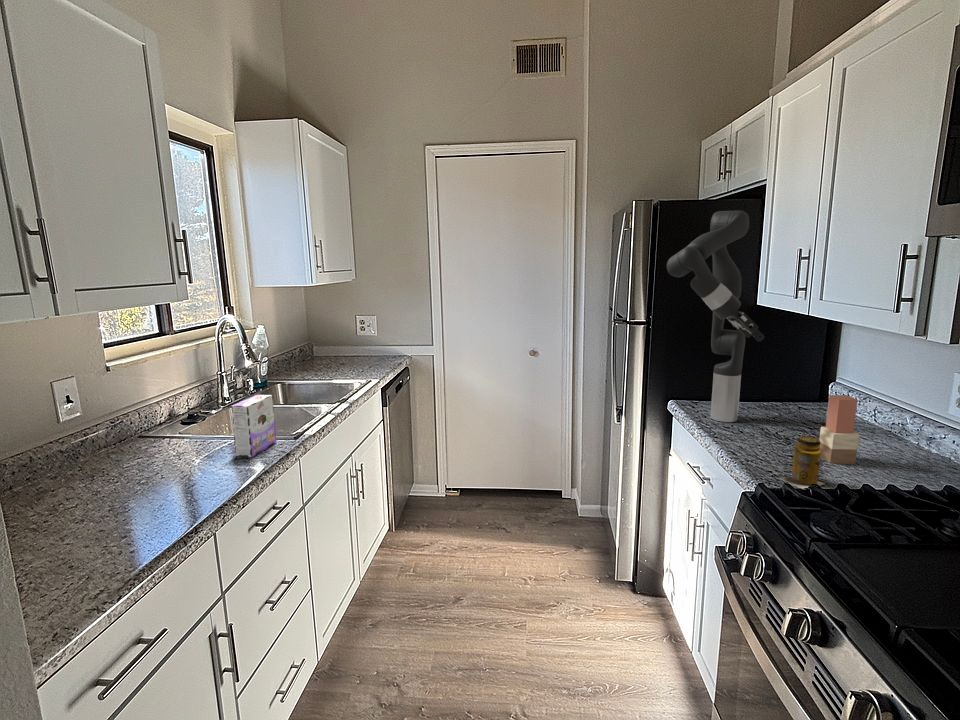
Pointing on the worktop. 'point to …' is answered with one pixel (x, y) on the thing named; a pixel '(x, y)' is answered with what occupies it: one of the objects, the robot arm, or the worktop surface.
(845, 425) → the tall block
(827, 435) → the tower top
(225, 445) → the worktop surface
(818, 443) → the condiment
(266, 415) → the candy box
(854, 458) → the tower base
